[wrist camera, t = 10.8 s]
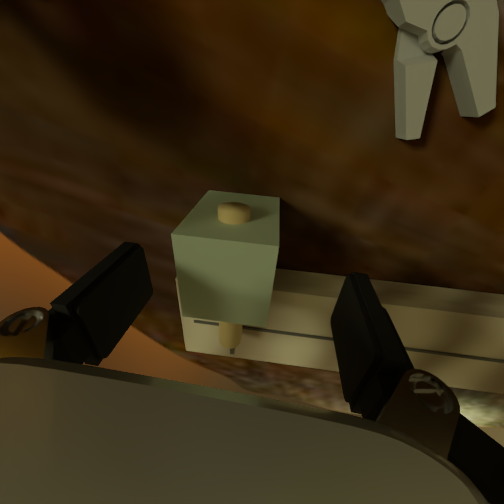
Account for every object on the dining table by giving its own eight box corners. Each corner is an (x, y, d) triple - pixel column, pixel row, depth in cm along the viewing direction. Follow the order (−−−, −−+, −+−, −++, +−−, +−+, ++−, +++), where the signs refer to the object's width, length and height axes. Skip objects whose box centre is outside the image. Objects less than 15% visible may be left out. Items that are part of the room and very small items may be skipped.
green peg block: (280, 189, 14) (280, 235, 9) (264, 305, 19) (258, 374, 14) (208, 182, 14) (169, 223, 9) (212, 298, 20) (188, 364, 15)
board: (547, 299, 16) (589, 329, 14) (479, 364, 20) (502, 395, 18) (187, 257, 17) (174, 279, 15) (195, 327, 22) (185, 351, 20)
